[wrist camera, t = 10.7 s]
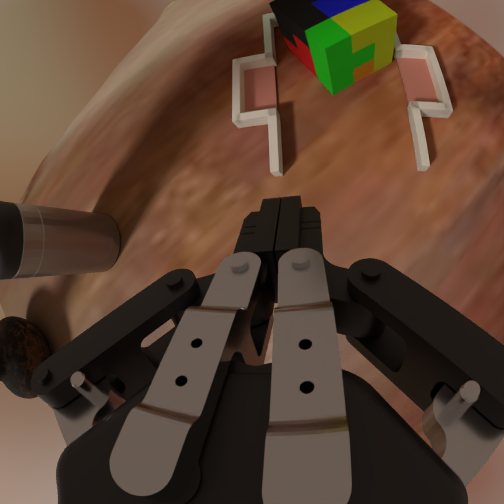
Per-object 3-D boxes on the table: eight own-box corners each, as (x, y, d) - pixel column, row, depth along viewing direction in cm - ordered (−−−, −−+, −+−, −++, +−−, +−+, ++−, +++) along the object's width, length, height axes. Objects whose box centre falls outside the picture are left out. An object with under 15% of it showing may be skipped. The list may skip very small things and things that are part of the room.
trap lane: (458, 172, 28) (464, 167, 26) (239, 179, 36) (232, 175, 34) (413, 16, 28) (414, 6, 26) (238, 29, 36) (233, 21, 34)
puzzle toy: (343, 20, 31) (336, -28, 22) (391, 62, 30) (397, 14, 20) (288, 49, 34) (269, 3, 24) (333, 95, 32) (324, 48, 23)
